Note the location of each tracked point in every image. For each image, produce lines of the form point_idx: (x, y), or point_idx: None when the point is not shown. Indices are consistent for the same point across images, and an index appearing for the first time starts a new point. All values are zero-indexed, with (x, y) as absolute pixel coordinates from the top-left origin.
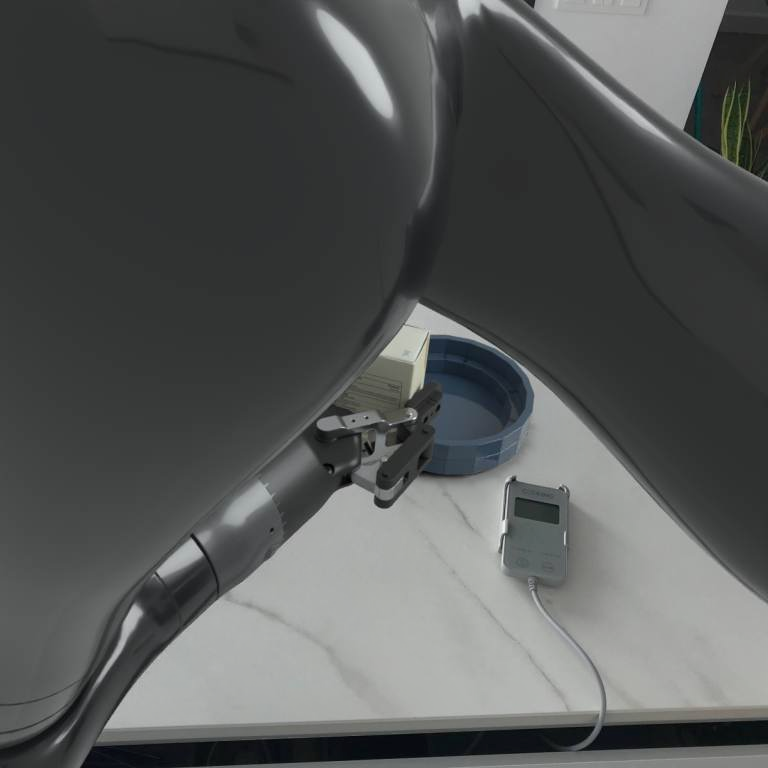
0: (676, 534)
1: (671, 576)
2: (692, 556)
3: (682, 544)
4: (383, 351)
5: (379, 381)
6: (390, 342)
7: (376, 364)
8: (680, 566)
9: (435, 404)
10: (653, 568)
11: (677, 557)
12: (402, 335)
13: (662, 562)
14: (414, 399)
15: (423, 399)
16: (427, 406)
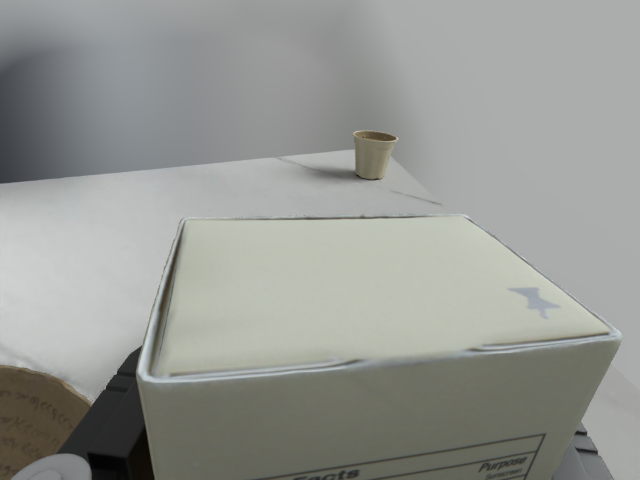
0: (584, 416)
1: (634, 476)
2: (619, 436)
3: (599, 426)
4: (456, 324)
5: (446, 468)
6: (433, 276)
7: (442, 401)
8: (626, 456)
9: (594, 446)
10: (613, 475)
11: (612, 446)
12: (429, 242)
13: (610, 461)
14: (561, 469)
15: (577, 452)
16: (596, 471)
